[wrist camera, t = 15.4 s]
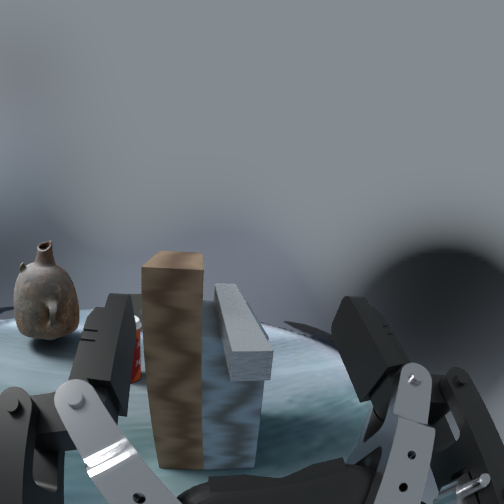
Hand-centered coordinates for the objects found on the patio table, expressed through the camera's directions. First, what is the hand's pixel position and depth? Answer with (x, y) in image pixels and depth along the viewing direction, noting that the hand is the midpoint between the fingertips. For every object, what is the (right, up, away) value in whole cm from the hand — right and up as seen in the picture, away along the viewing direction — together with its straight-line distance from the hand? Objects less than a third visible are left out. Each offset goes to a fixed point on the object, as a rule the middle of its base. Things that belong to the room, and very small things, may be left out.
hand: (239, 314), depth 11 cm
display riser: (-8, -31, +33) cm, 46 cm away
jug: (-60, -25, +59) cm, 87 cm away
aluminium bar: (-2, -8, +26) cm, 27 cm away
